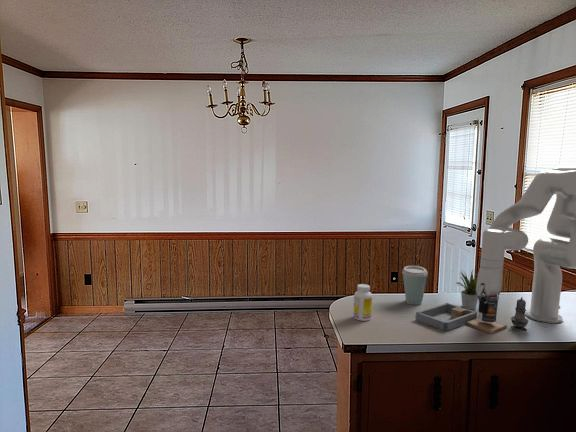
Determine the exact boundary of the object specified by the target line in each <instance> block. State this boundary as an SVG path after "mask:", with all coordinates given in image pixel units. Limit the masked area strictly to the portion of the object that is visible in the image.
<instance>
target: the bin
mask: <svg viewBox="0 0 576 432" xmlns="http://www.w3.org/2000/svg"><path fill="white" fill-rule="evenodd" d="M455 307H460V308H463V309H466V308H464V307H461V306H458V305H455V304H451V303H450V302H445V303H443V304H438V305H435V306H432V307H429V308H426V309H423V310H420V311H416V312H415V321H418V322H420V323H422V324H425V325H427V326H428V325H429V326H430V327H434V328H436V329H439V330H441V331H444V332H448V331H450V330H453V329H456V328H459V327H462V326H464V325H466V322H468V321H471V320H473V319H476V318H478V312H477V311H474V310H472V309H466V310H467V314H466V315H464V316H461V317H458V318H455V319H449V320H447V321H445V320H441V319H439V318H436V317H434V316H437V315H439V314H442V313H446V312H449V313H451V309H452V308H455Z"/></svg>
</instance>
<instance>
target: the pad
mask: <svg viewBox="0 0 576 432" xmlns="http://www.w3.org/2000/svg"><path fill="white" fill-rule="evenodd" d="M465 325H466V326H469V327H472V328H474V329H477V330H480V331H483V332H486V333H489V334H492V335H493V334H495V333H497V332H500V331H502V330H504V329H507V326H508V325H507V324H505V323H501V322H498V321H495V322H493V323H489V322H484V321H481V320H480V319H479V318H478V317H477V318H476V319H473V320H471V321H468V322H466V324H465Z"/></svg>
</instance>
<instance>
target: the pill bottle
mask: <svg viewBox="0 0 576 432" xmlns="http://www.w3.org/2000/svg"><path fill="white" fill-rule="evenodd" d="M483 294H486V293H484V292H483ZM495 295H496V294H493V295H490V296H489V298H488V302H487V303H488V314H484V313H480V312H479V311H478V315H477V318H479V319H480V320H481V321H484V322H489V323H493V322H497V313H498V307H497V304H498V305H499V299H498V298H497V297H496V296H495ZM483 297H484V298H486V296H483Z"/></svg>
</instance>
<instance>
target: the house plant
mask: <svg viewBox="0 0 576 432" xmlns="http://www.w3.org/2000/svg"><path fill="white" fill-rule="evenodd" d="M450 270H451V269H450ZM474 270H475V268H474V269H472V271H470V273H471V274H470V278H468V275H467V273H466V272H464V271H463V270H461V271H459V272H457V273H458V275H459V279H461V280H462V282H463V283H462V282H460V281H457V282H455V283H454V284H455V285H460V286H462V287H463V288H464V290H463V289H462V290H461V291H460V296H461V306H462V308H465V309H468V310H476V308H477V305H478V302H479V299H478V297H477V293H476V285H477V278H478V273H476V274H475V276H477V277H476V278H475V276H474V275H473V272H474ZM451 271H452V272H453V270H451ZM463 272H464V273H463ZM459 273H460V274H459Z"/></svg>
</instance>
